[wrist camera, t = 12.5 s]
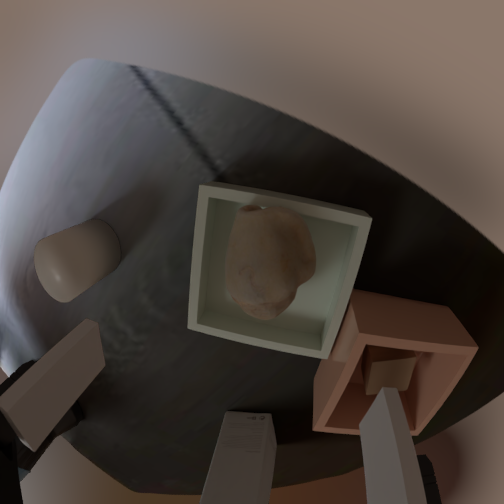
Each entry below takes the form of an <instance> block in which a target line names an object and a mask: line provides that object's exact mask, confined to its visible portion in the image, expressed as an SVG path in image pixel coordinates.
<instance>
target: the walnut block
mask: <svg viewBox="0 0 504 504" xmlns="http://www.w3.org/2000/svg"><path fill="white" fill-rule="evenodd" d="M416 358H417V357H416V355H415V352H414V350H406V349H398V348H390V347H383V346H375V345H368V344H366V345H365V348H364V350H363V356H362V363H361V370H362V375H363V381H364V386H365V392H366V395H373V394H379V392H380V390H381V389H382V387H387V388H397V390H398V391H405V390H407V389H408V386H409V382H410V379H411V376H412V372H413V369H414V365H415V361H416Z"/></svg>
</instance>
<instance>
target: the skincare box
mask: <svg viewBox="0 0 504 504" xmlns="http://www.w3.org/2000/svg"><path fill="white" fill-rule="evenodd" d="M276 447H277V443H276V436H275V431H274V426H273V422H272V416H271V414H269V413H247V412H234V411H227V412H226V413H225V416H224V420H223V424H222V427H221V431H220V434H219V438H218V441H217V445H216V448H215V451H214V455H213V458H212V462H211V465H210V469H209V472H208V476H207V479H206V483H205V486H204V489H203V493H202V496H201V499H200V503H199V504H269V498H270V491H271V484H272V477H273V470H274V462H275V455H276Z"/></svg>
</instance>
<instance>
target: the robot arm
mask: <svg viewBox="0 0 504 504" xmlns="http://www.w3.org/2000/svg"><path fill="white" fill-rule="evenodd" d="M104 367H105V360H104V354H103V349H102V343H101V337H100V331H99V324H98V323H97V322H95V321H92V320H90V319H87V318H86V319H85V320H84V321H82V322H81V323H80V324H79V325H78V326H77V327H75V328H74V329H73V330H72V331H71V332H70V333H68V334H67V335H66V336H65V337H64V338H63V339H62V340H60V341H59V342H58V343H57V344H56V345H55V346H54V347H53V348H51V349H50V350H49V351H48V352H47V353H46V354H45V355H44V356H43V357H42V358H40V359H39V360H38V361H37V362H34V361H33V360H31V361H29V362H27V363H24V364H22V365H21V366H20V367H19V368H18V369H17V370H16V371H15V373H12V374H11V375H10V377H8V378H7V379H6V380H5V381H4V382H3V383H2V384H1V385H0V504H23V500H22V494H21V488H20V481H22V480H23V478H24V477H25V476H26V475H27V474H28V473H30V472H31V469H32V468H33V466H34V465H35V464H36V462H37V461H38V460H39V458H40V457H41V456H42V454H43V453H44V452H45V450H46V449H47V448H48V447H49V445H50V444H51V443H52V441H53V440H54V439H55V438H56V437H57V436H59V435H61V434H63V433H65V432H67V431H68V430H70V429H71V428H73V427H75V426H77V425H78V423H79V422H80V421H81V420H82V418H83V414H82V411H81V408H80V406H79V405H78V403H77V401H76V400H77V399H78V397H79V396H80V395H81V394H82V393H83V391H84V390H85V389H86V388H87V387H88V386H89V384H90V383H91V382H92V381H93V380H94V378H95V377H96V376H97V375H98V374H99V373H100V371H101V370H102V369H103V368H104ZM359 428H360V435H361V443H362V451H363V460H364V469H365V479H366V491H367V504H442V503H441V499H440V494H439V490H438V485H437V484H436V482H437V481H436V477H435V476H434V474H435V473H434V470H433V466H432V463H431V462H430V460H429V459H428V458H427V456H426V455H416V452H415V448H414V444H413V440H412V437H411V433H410V429H409V426H408V422H407V419H406V416H405V412H404V409H403V406H402V403H401V399H400V396H399V393H398V390H397V388H387V387H382V389H381V390H380V392H379V394H378V395H377V397H376V399H375V400H374V402H373V404H372V405H371V407H370V408H369V410H368V412H367V413H366V415H365V416H364V418H363V419H362V421H361V422H360V424H359Z"/></svg>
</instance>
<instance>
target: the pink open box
mask: <svg viewBox="0 0 504 504" xmlns="http://www.w3.org/2000/svg"><path fill="white" fill-rule="evenodd" d="M366 344H368V345H375V346H383V347H390V348H398V349H406V350H414V352H415V355H416V357H417V358H416V361H415V365H414V369H413V372H412V376H411V379H410V382H409V386H408V389H407V390H405V391H398V393H399V396H400V399H401V403H402V406H403V409H404V412H405V416H406V419H407V422H408V426H409V429H410V433H411V435H418V434H419V433H420V432H421V431H422V430H423V428H424V427H425V426H426V425H427V424H428V422H429V421H430V420H431V419H432V417H433V416H434V415H435V413H436V412H437V411H438V409H439V408H440V407H441V405H442V404H443V403H444V401H445V400H446V399H447V397H448V396H449V394H450V393H451V392H452V390H453V389H454V387H455V386H456V384H457V383H458V381H459V380H460V378H461V377H462V375H463V373H464V372H465V370H466V369H467V367H468V365H469V364H470V362H471V360H472V359H473V357H474V355H475V353H476V352H477V350H478V348H479V347H478V346H477V344H476V343H475V341H474V340H473V339H472V337H471V336H470V335H469V333H468V332H467V330H466V329H465V328H464V326H463V325H462V324H461V322H460V321H459V320H458V319H457V317H456V316H455V315H454V313H453V312H452V311H451V310H450V308H449V307H448V306H443V305H438V304H432V303H427V302H422V301H416V300H411V299H406V298H400V297H395V296H390V295H384V294H379V293H374V292H369V291H364V290H359V289H354V288H353V289H352V292H351V295H350V298H349V301H348V304H347V307H346V310H345V313H344V316H343V319H342V321H341V324H340V327H339V330H338V333H337V335H336V338H335V341H334V343H333V346H332V348H331V351H330V354H329V356H328V359H322V360H321V362H320V365H319V367H318V370H317V372H316V375H315V377H314V401H313V431H321V432H330V433H341V434H355V435H360V428H359V424H360V422H361V421H362V419H363V418H364V416H365V415H366V413H367V412H368V410H369V408H370V407H371V405H372V404H373V402H374V400H375V399H376V397H377V395H378V394H373V395H366V392H365V386H364V381H363V375H362V370H361V363H362V356H363V350H364V348H365V345H366Z"/></svg>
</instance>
